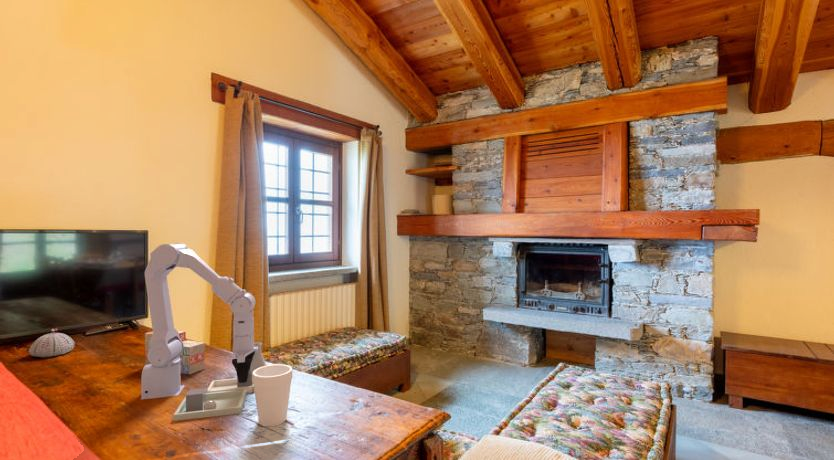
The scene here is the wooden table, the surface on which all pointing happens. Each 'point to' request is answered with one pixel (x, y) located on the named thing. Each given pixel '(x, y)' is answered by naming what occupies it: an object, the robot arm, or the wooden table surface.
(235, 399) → the bin
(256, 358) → the flask
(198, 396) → the grey cube
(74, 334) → the wooden table surface
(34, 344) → the sea urchin shell
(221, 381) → the dish
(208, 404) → the pale pink ball
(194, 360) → the cardboard box
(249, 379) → the grey cube
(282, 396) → the foam cup
